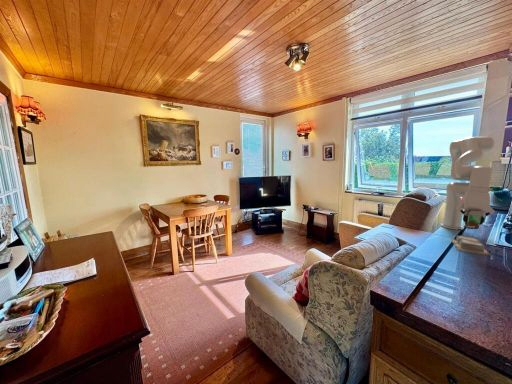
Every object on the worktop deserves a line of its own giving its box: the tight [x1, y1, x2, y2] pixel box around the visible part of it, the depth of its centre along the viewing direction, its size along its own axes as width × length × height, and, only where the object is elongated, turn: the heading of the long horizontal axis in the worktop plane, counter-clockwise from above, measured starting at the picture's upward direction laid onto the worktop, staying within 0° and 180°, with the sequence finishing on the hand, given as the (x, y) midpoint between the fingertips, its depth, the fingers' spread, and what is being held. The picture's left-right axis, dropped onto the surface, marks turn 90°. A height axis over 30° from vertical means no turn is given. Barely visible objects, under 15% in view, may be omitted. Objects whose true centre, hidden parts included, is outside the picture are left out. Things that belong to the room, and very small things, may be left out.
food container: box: [464, 210, 484, 230], centre depth 119 cm, size 12×6×10 cm, turn 144°
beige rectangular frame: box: [451, 234, 490, 256], centre depth 121 cm, size 16×12×4 cm
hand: (472, 222), depth 119 cm, fingers closed on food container, 5 cm apart
